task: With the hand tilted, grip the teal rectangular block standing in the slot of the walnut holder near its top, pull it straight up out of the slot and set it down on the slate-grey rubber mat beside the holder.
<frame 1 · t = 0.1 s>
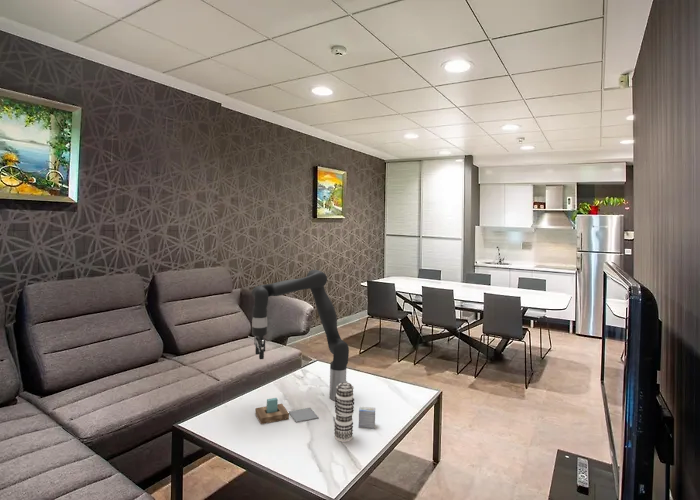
hand: (259, 356, 214), 29 cm above the table, tool pointing down, fingers open, 8 cm apart
mat: (303, 415, 213), on the table
holder: (271, 416, 211), on the table
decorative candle: (343, 437, 194), on the table
teal rectangular block: (272, 407, 211), in the holder
medicine box: (366, 426, 205), on the table
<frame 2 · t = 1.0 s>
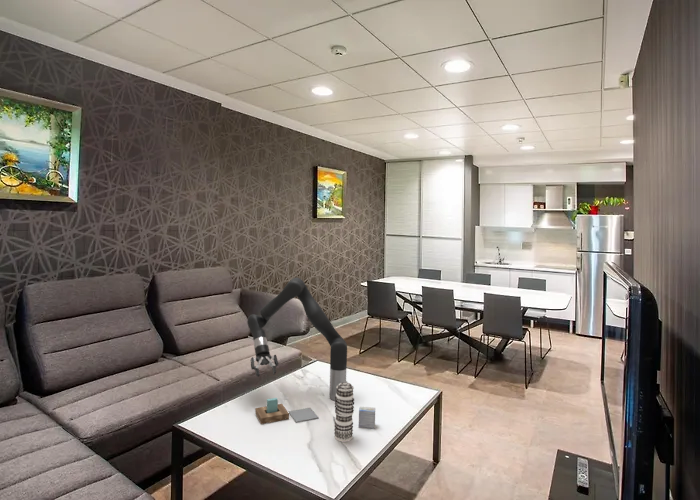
hand: (266, 374, 220), 18 cm above the table, tool tilted 45°, fingers open, 8 cm apart
nothing on the table moved.
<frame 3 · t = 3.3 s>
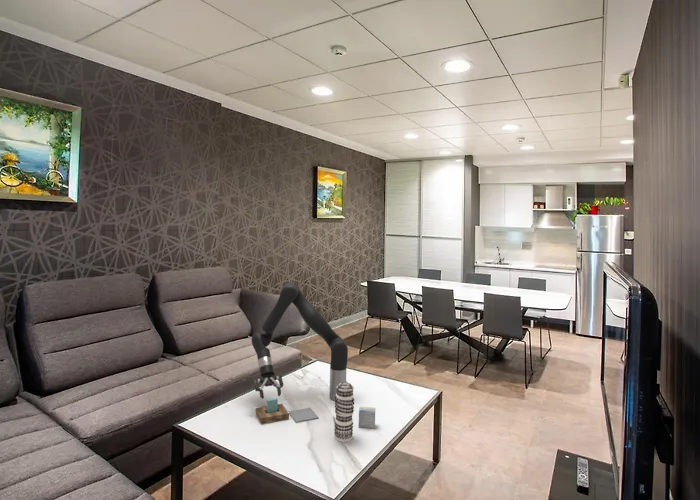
hand: (271, 396, 212), 10 cm above the table, tool tilted 45°, fingers open, 8 cm apart
nothing on the table moved.
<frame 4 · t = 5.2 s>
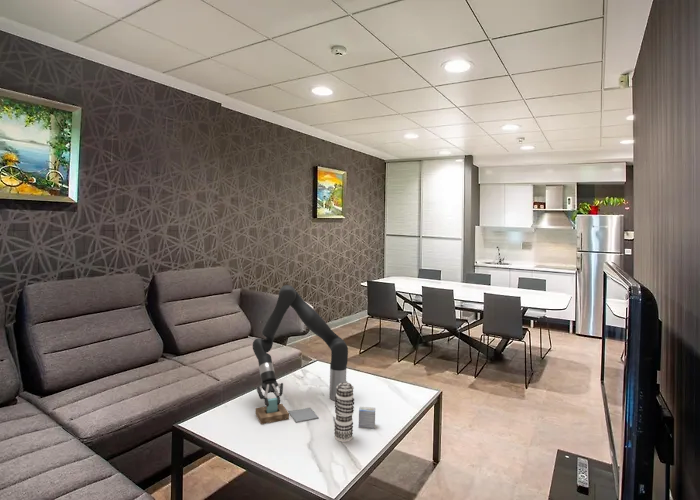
hand: (273, 404, 209), 7 cm above the table, tool tilted 45°, fingers closed on teal rectangular block, 5 cm apart
teal rectangular block: (272, 407, 211), in the holder, touching gripper
everything else where it was.
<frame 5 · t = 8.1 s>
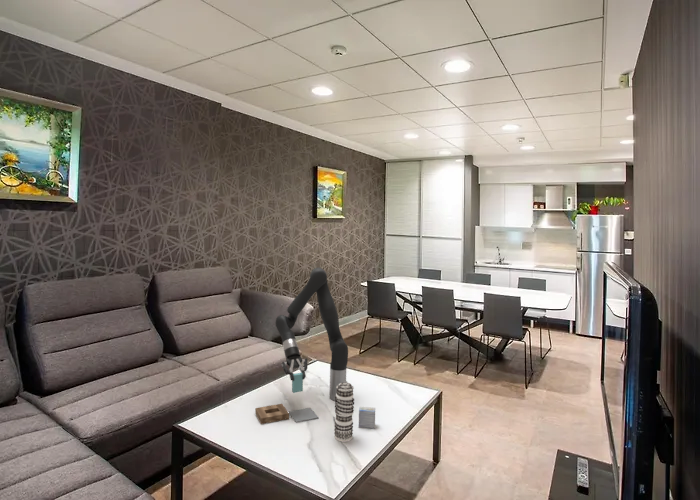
hand: (298, 379, 210), 20 cm above the table, tool tilted 45°, fingers closed on teal rectangular block, 5 cm apart
teal rectangular block: (297, 382, 212), point 17 cm above the table, touching gripper
everything else where it was.
when the fingers open (8 cm above the table, at t = 11.1 s): teal rectangular block stays where it is, resting on mat.
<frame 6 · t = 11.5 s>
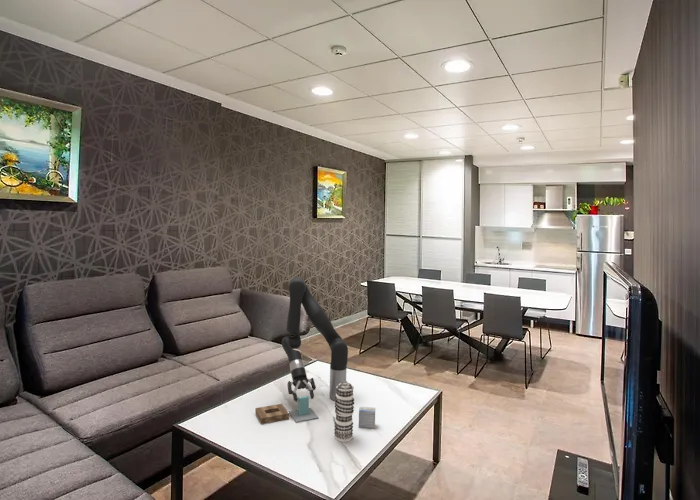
hand: (304, 399, 212), 9 cm above the table, tool tilted 45°, fingers open, 8 cm apart
teal rectangular block: (303, 405, 213), on the mat, point 5 cm above the table
everything else where it was.
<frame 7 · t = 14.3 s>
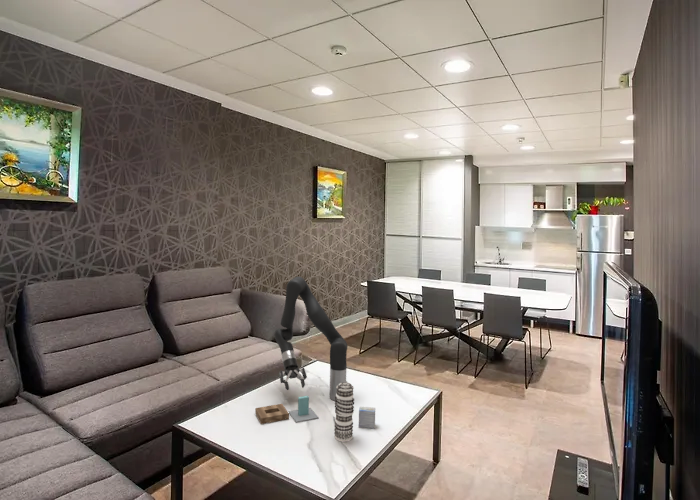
hand: (295, 388, 224), 10 cm above the table, tool tilted 45°, fingers open, 8 cm apart
nothing on the table moved.
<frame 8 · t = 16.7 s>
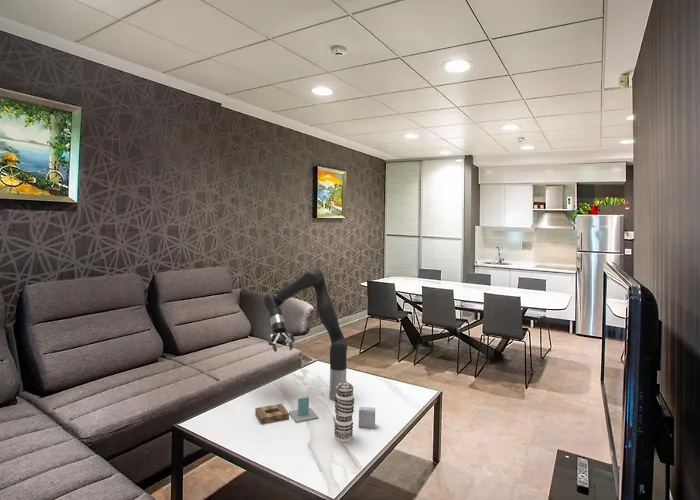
hand: (283, 350, 227), 29 cm above the table, tool tilted 45°, fingers open, 8 cm apart
nothing on the table moved.
at the end: teal rectangular block inside the target area on the mat (0.1 cm from its centre), point 5.1 cm above the mat's base; the gripper is holding nothing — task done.
